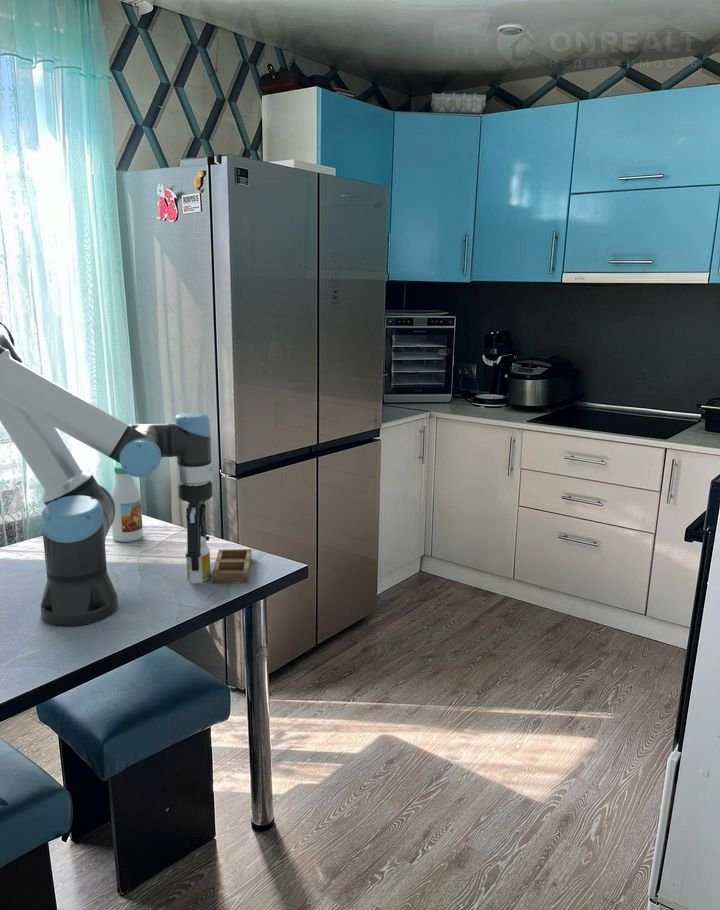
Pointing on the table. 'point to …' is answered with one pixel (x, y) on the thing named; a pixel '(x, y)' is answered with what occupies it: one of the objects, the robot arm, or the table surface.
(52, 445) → the robot arm
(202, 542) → the supplement bottle
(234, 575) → the compartment tray
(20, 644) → the table surface
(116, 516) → the milk bottle
